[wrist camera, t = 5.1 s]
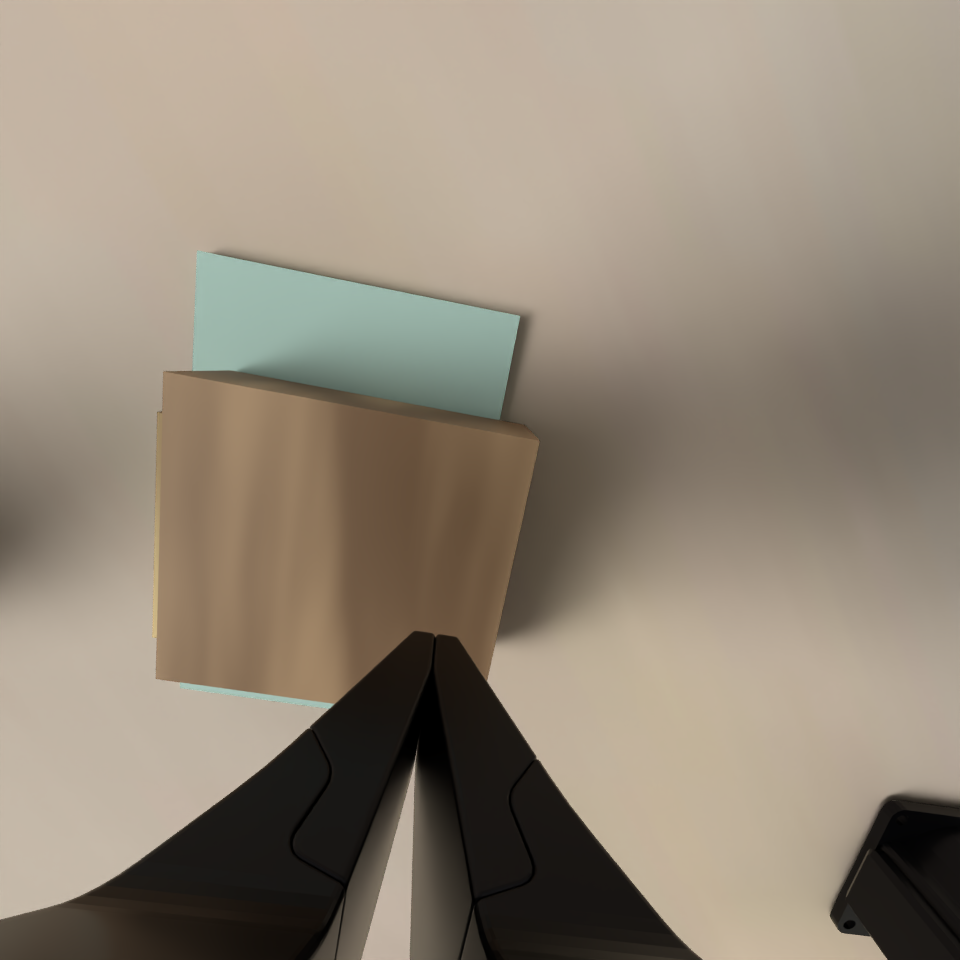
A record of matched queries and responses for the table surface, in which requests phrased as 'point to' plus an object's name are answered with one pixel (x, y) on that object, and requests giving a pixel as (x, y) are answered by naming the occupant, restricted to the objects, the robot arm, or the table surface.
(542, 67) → the table surface
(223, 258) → the mat
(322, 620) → the menu stand
